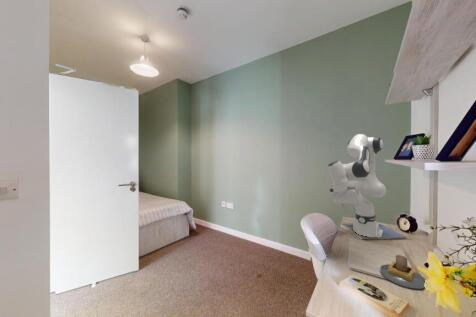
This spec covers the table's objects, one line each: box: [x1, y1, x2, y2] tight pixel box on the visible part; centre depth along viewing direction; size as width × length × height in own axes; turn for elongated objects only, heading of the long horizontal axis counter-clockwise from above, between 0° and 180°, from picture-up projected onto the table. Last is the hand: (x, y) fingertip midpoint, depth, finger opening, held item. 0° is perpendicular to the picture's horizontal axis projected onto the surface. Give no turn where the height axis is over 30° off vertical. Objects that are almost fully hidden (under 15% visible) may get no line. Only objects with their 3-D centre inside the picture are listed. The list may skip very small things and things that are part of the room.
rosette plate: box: [379, 260, 426, 291], centre depth 85 cm, size 16×16×4 cm
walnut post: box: [395, 254, 408, 273], centre depth 85 cm, size 4×4×8 cm
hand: (350, 210), depth 107 cm, fingers open, 8 cm apart
